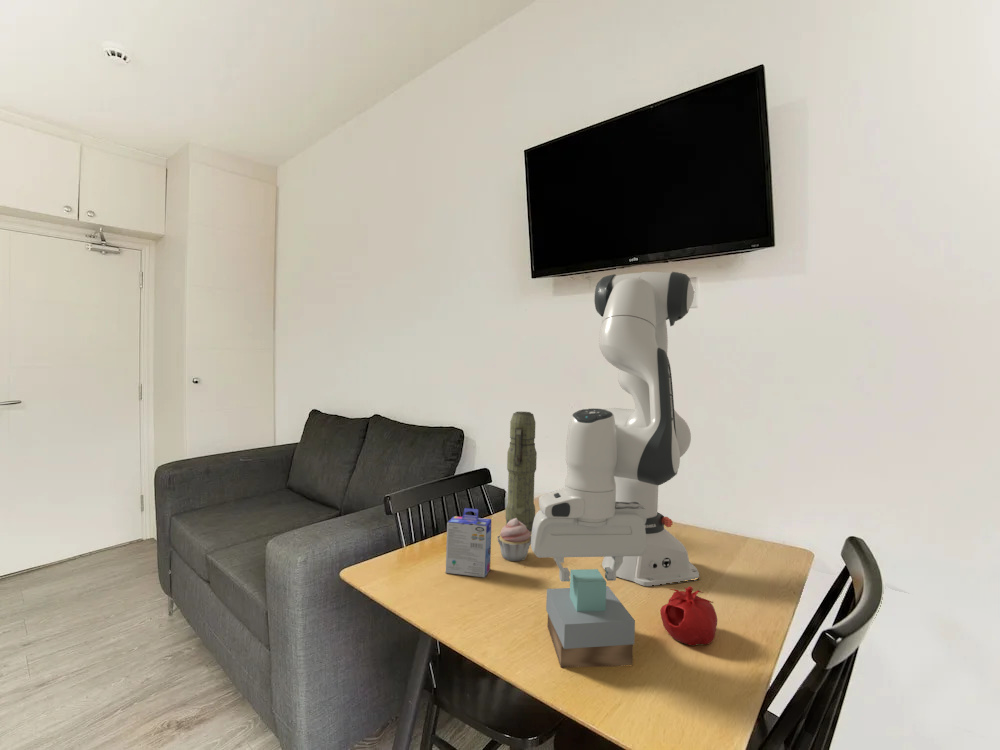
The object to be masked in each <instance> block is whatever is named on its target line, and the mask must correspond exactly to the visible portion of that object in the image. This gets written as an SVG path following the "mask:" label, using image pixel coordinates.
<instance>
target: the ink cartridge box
mask: <svg viewBox="0 0 1000 750" xmlns="http://www.w3.org/2000/svg"><path fill="white" fill-rule="evenodd" d="M471 512H472V513H474V515H473V514H467V513H471ZM491 549H492V519H491V518H483V517H482V518H481V517H479V509H477V508H470V507H469V508H468V507H464V509H463V513H462V516H457V515H455V516H454V515H453V516H452V517H451V519H449V520H448V521H447V523H446V549H445V550H446V552H445V553H446V554H445V574H452V575H460V576H469V577H470V576H471V577H478V578H486V577H487V575H488V574H489V572H490V570H491Z"/></svg>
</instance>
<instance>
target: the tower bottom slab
mask: <svg viewBox="0 0 1000 750" xmlns="http://www.w3.org/2000/svg"><path fill="white" fill-rule="evenodd" d="M547 630H548V632H549V635H550V639H551V642H552V644H553V648H554V651H555V654H556V658H557V660H558V664H559V666H560V669H562V668H597V667H602V668H604V667H627V666H626V665H632V666H633V657H634V656H633V652H634V651H633V650H634V644H632V645H617V646H601V647H586V648H570V649H564V648H563V646H562V643H561V641H560V639H559V637H558V635H557V632H556V630H555V628H554V626H553V624H552V622H551V619H550V617H549V615H548V614H547ZM621 665H623V666H621ZM624 665H625V666H624Z"/></svg>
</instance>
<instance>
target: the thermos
mask: <svg viewBox="0 0 1000 750" xmlns="http://www.w3.org/2000/svg"><path fill="white" fill-rule="evenodd" d="M509 422H510V423H509V424H510V425H509V426H510V427H509V428H510V429H509V438H510V442H509V447H508V450H507V458H506V459H507V460H506V461H507V462H506V465H507V466H506V470H507V472H508V475H507V476H508V479H507V480H508V482H507V488H508V489H507V504H506V508H505V525H507V523H508V522H509V521H510V520H512V519H515V518H517V520H518V521H520V522H521V523H523V524H524V525H525V526H526V528H527V529H528V530H529V531H530V532H532V526H533V521H534V517H535V515H536V506H535V503H534V502H535V473H536V471H537V458H538V457H537V456H538V455H537V453H538V452H537V449H536V443H535V439H536V419H535V417H534V414H533V413H532V412H530V411H515V412H514V413H512V416H511V419H510V421H509Z"/></svg>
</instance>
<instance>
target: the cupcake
mask: <svg viewBox="0 0 1000 750" xmlns="http://www.w3.org/2000/svg"><path fill="white" fill-rule="evenodd" d="M497 542H498V545H499V546H500V553H501V557H502V558H503V559H504V560H506V561H509V562H520V561H524V560H526V558H527V556H528V553H529V550H530V549H529V548H530V547H531V531H529V530H528V529H527V528H526V526H525V525H524V524H523V523H521V522H520V521H518V520H517V518H515V519H512V520H510V521H509V522H508V523H507V525H506V524H505V525H504V526H503V527H502V528H501V530H500V533H499V535H497Z"/></svg>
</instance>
